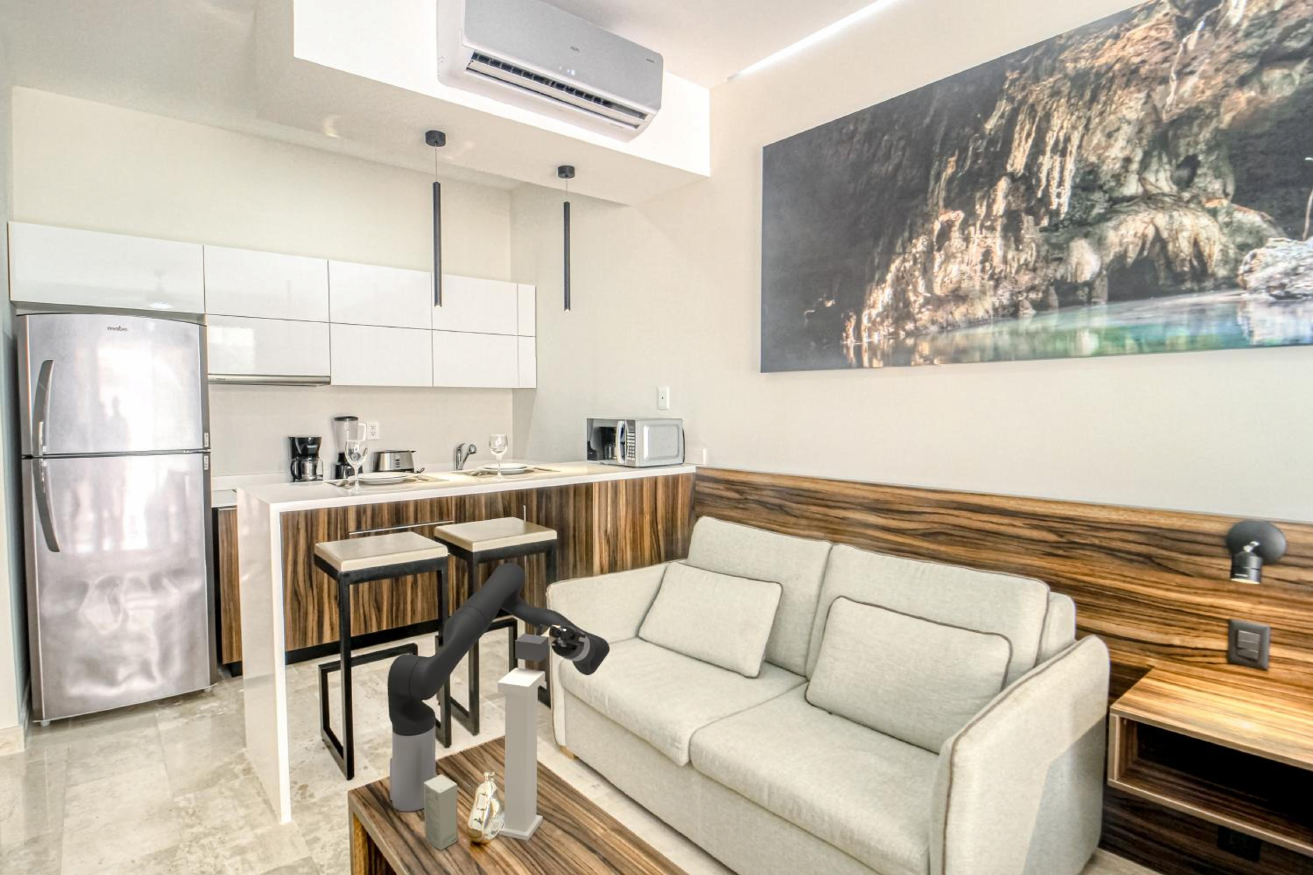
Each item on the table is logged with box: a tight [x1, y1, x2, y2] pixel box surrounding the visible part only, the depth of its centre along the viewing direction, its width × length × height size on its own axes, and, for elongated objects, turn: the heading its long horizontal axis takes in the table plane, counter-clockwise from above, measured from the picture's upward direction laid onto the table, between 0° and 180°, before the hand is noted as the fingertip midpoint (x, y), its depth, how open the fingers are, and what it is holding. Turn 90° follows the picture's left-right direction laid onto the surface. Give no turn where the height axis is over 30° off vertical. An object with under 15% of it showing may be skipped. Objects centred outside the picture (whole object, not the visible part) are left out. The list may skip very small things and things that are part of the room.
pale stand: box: [497, 667, 546, 842], centre depth 141 cm, size 8×7×33 cm
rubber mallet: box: [514, 625, 561, 663], centre depth 150 cm, size 15×6×4 cm, turn 164°
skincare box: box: [423, 773, 459, 851], centre depth 138 cm, size 6×4×12 cm
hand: (545, 629), depth 151 cm, fingers closed on rubber mallet, 2 cm apart
